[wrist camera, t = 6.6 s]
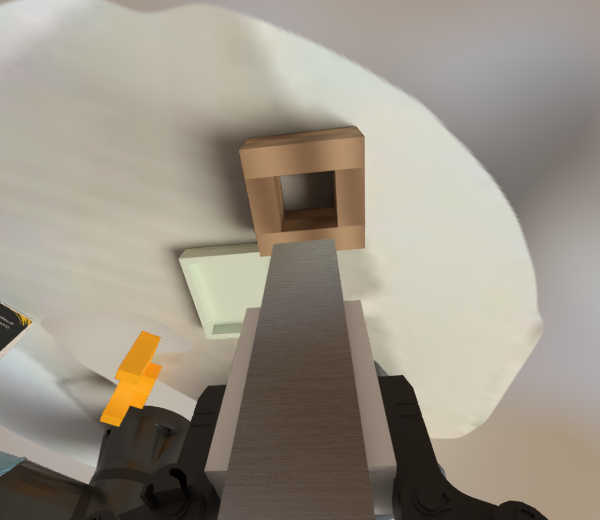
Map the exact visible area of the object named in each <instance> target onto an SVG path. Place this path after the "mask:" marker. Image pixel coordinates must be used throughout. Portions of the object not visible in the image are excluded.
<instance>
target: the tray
mask: <svg viewBox="0 0 600 520" xmlns="http://www.w3.org/2000/svg"><path fill="white" fill-rule="evenodd" d="M270 259H271V256H265V257H260V253H259V248H258V243H249V244H237V245H226V246H214V247H203V248H191V249H185V250H184V252H183V253H182V255H181V256H180V257H179V262H180V264H181V267H182V270H183V273H184V276H185V279H186V281H187V284H188V287H189V290H190V293H191V295H192V298H193V301H194V304H195V307H196V310H197V312H198V315H199V318H200V321H201V324H202V326H203V329H204V332H205V335H206V338H207V340H209V339H225V338H239V336H240V332H241V328H242V325H243V321H244V317H245V313H246V309H247V308H255V307H261V303H262V298H263V293H264V288H265V283H266V279H267V274H268V269H269V264H270Z"/></svg>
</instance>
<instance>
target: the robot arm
mask: <svg viewBox="0 0 600 520" xmlns="http://www.w3.org/2000/svg"><path fill="white" fill-rule="evenodd" d="M343 302H344V309H345V315H346V322H347V329H348V336H349V342H350V349H351V356H352V363H353V370H354V376H355V383H356V390H357V397H358V404H359V410H360V417H361V424H362V431H363V438H364V444H365V451H366V458H367V465H368V471H369V478H370V485H371V492H372V499H373V505H374V512H375V515H377V514H392V512H393V513H394V518H395V520H548V519H547V518H546V517H545V516H543V515H542V514H541V513H540V512H539V511H537V510H536V509H535V508H533V507H531V506H529V505H527V504H525V503H523V502H518V501H507V502H504V503H502V504H500V506H497V505H493V504H491V503H488V502H485V501H482V500H479V499H475V498H473V497H470V496H468V495H466V494H464V493H462V492H460V491H459V490H457V489H456V488H455V487H453V486H452V485H451V484H450V483H449V482H448V481H447V479H446V478H445V477H444V475H443V474H442V472H441V470H440V468H439V465H438V463H437V460H436V457H435V454H434V451H433V448H432V444H431V442H430V438H429V435H428V432H427V429H426V426H425V423H424V420H423V418H422V414H421V411H420V408H419V405H418V401H417V398H416V395H415V392H414V389H413V387H412V386H411V385H410V383H409V382H408V381H407V380H406V378H405V377H404V376H403V375H397V376H378V377H377V374H376V369H375V364H374V360H373V355H372V351H371V346H370V342H369V337H368V333H367V328H366V324H365V319H364V315H363V310H362V305H361V301H360V300H355V301H343ZM260 308H261V307H255V308H247V309H246V313H245V317H244V321H243V325H242V328H241V332H240V336H239V340H238V344H237V348H236V351H235V355H234V359H233V363H232V367H231V371H230V374H229V378H228V382H227V385H217V386H208V387H207V388H206V389H205V391H204V392H203V393H202V395H201V396H200V397H199V399H198V401H197V404H196V407H195V410H194V415H193V416H192V419H191V422H190V421H189V420H187V419H186V418H184V417H183V416H181V415H179V414H177V413H175V412H173V411H170V410H167V409H164V408H160V407H154V406H143V408H142V409H140V408H137V407H133V406H132V407H129V409H128V411H127V412H126V414H125V416H124V418H123V420H122V422H121V424H120V426H119V427H118V426H115V425H111V424H108V425H107V427H106V429H105V431H104V435H103V440H102V444H101V449H100V453H99V458H98V463H97V468H96V471H95V473H94V475H93V477H92V479H91V481H90V483H89V485H88V484H85V483H83V482H81V481H78V480H76V479H73V478H71V477H68V476H66V475H63V474H61V473H58V472H55V471H53V470H51V469H48V468H46V467H43V466H41V465H39V464H36V463H34V462H31V461H29V460H27V458H26V457H17V456H14V455H10V454H7V453H5V452H1V451H0V520H217V518H218V514H219V509H220V504H221V499H222V494H223V489H224V484H225V479H226V474H227V469H228V465H229V460H230V455H231V450H232V445H233V440H234V435H235V430H236V425H237V421H238V416H239V411H240V406H241V401H242V396H243V391H244V386H245V381H246V376H247V372H248V367H249V362H250V357H251V352H252V347H253V342H254V337H255V332H256V327H257V323H258V318H259V313H260Z"/></svg>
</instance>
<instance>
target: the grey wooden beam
mask: <svg viewBox="0 0 600 520" xmlns="http://www.w3.org/2000/svg"><path fill="white" fill-rule="evenodd" d="M217 520H376V519H375V512H374V505H373V499H372V492H371V485H370V478H369V471H368V465H367V458H366V451H365V444H364V438H363V431H362V424H361V417H360V410H359V404H358V397H357V390H356V383H355V376H354V370H353V363H352V356H351V349H350V342H349V336H348V329H347V322H346V315H345V309H344V302H343V295H342V288H341V281H340V275H339V268H338V261H337V254H336V247H335V241H334V239H325V240H314V241H302V242H290V243H278V244H273V249H272V254H271V259H270V264H269V269H268V274H267V279H266V283H265V288H264V293H263V298H262V303H261V308H260V313H259V318H258V323H257V327H256V332H255V337H254V342H253V347H252V352H251V357H250V362H249V367H248V372H247V376H246V381H245V386H244V391H243V396H242V401H241V406H240V411H239V416H238V421H237V425H236V430H235V435H234V440H233V445H232V450H231V455H230V460H229V465H228V469H227V474H226V479H225V484H224V489H223V494H222V499H221V504H220V509H219V514H218V518H217Z"/></svg>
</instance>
